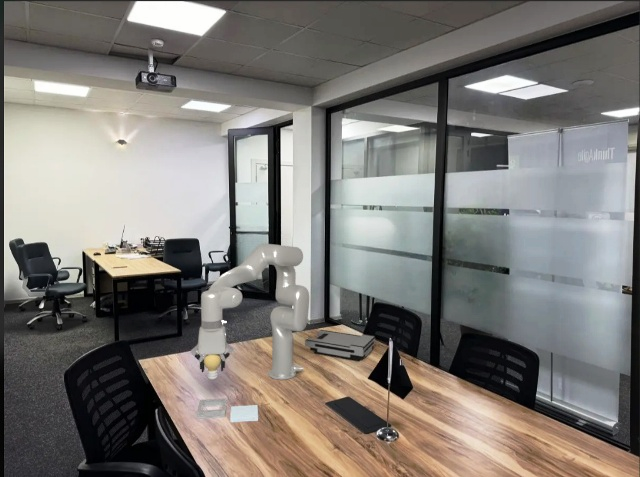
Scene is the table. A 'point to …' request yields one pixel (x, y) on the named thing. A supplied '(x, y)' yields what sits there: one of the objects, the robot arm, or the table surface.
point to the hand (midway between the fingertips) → (212, 370)
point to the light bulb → (212, 365)
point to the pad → (244, 413)
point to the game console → (341, 345)
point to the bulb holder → (211, 413)
